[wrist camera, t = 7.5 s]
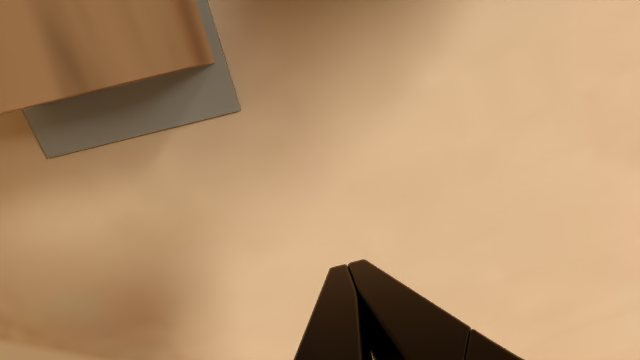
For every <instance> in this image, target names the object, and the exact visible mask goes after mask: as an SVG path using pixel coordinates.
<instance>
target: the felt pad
mask: <svg viewBox="0 0 640 360" xmlns="http://www.w3.org/2000/svg"><path fill="white" fill-rule="evenodd" d="M196 4H197V7H198V10H199V13H200V16H201V19H202V23H203V26H204V29H205V32H206V35H207V38H208V41H209V45H210V48H211V51H212V54H213V57H214V60H215V63H212V64H208V65H204V66H200V67H196V68H192V69H188V70H184V71H180V72H176V73H172V74H167V75H163V76H159V77H155V78H151V79H147V80H143V81H139V82H135V83H131V84H127V85H122V86H118V87H114V88H110V89H106V90H102V91H98V92H94V93H90V94H86V95H82V96H77V97H73V98H69V99H65V100H61V101H57V102H53V103H49V104H45V105H41V106H37V107H32V108H28V109H23V110H22V111H23V113H24V115H25V117H26V119H27V121H28V123H29V125H30V126H31V128H32V130H33V132H34V134H35V136H36V138H37V140H38V142H39V144H40V146H41V148H42V149H43V151H44V153H45V155H46V157H47V159H48V158H52V157H56V156H60V155H64V154H68V153H72V152H76V151H80V150H84V149H88V148H92V147H96V146H100V145H104V144H108V143H112V142H116V141H120V140H124V139H128V138H132V137H136V136H140V135H144V134H148V133H152V132H156V131H160V130H164V129H168V128H172V127H176V126H180V125H184V124H188V123H193V122H197V121H201V120H205V119H209V118H213V117H217V116H221V115H225V114H229V113H233V112H237V111H241V109H240V106H239V102H238V99H237V96H236V93H235V89H234V86H233V83H232V79H231V76H230V73H229V70H228V66H227V63H226V60H225V57H224V53H223V50H222V47H221V44H220V40H219V37H218V34H217V30H216V27H215V24H214V21H213V17H212V14H211V11H210V8H209V4H208V1H207V0H196Z"/></svg>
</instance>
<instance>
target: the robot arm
mask: <svg viewBox="0 0 640 360" xmlns="http://www.w3.org/2000/svg"><path fill="white" fill-rule="evenodd" d="M371 353H372V354H371ZM372 356H373V358H372ZM373 359H374V360H524V359H522V358H520V357H518V356H517V355H515V354H513V353H512V352H510V351H508V350H507V349H505V348H503V347H502V346H500V345H498V344H497V343H495V342H493V341H492V340H490V339H488V338H487V337H485V336H484V335H482V334H481V333H479V332H478V331H476V330H474V329H472V330H471V328H470V327H469V326H468V325H466V324H465V323H463V322H462V321H460V320H459V319H457V318H455V317H454V316H452V315H451V314H449V313H448V312H446V311H445V310H443V309H441V308H440V307H438V306H437V305H435V304H434V303H432V302H430V301H429V300H427V299H426V298H424V297H423V296H421V295H420V294H418V293H416V292H415V291H413V290H412V289H410V288H409V287H407V286H406V285H404V284H402V283H401V282H399V281H398V280H396V279H395V278H393V277H392V276H390V275H388V274H387V273H385V272H384V271H382V270H381V269H379V268H377V267H376V266H374V265H373V264H371V263H370V262H368V261H367V260H364V259H363V260H359V261H355V262H351V263H349V264H348V266H347V265H345V264H344V265H340V266H336V267H332V268H330V270H329V272H328V275H327V277H326V280H325V282H324V285H323V287H322V290H321V292H320V295H319V297H318V300H317V302H316V305H315V307H314V310H313V312H312V315H311V317H310V320H309V322H308V325H307V327H306V330H305V332H304V335H303V338H302V340H301V343H300V345H299V348H298V350H297V353H296V355H295V358H294V360H373Z"/></svg>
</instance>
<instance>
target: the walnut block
mask: <svg viewBox="0 0 640 360" xmlns="http://www.w3.org/2000/svg"><path fill="white" fill-rule="evenodd" d="M212 63H215V60H214V57H213V54H212V51H211V48H210V45H209V41H208V38H207V35H206V32H205V29H204V26H203V23H202V19H201V16H200V13H199V10H198V7H197V4H196V0H0V114H5V113H10V112H14V111H19V110H23V109H28V108H32V107H37V106H41V105H45V104H49V103H53V102H57V101H61V100H65V99H69V98H73V97H77V96H82V95H86V94H90V93H94V92H98V91H102V90H106V89H110V88H114V87H118V86H122V85H127V84H131V83H135V82H139V81H143V80H147V79H151V78H155V77H159V76H163V75H167V74H172V73H176V72H180V71H184V70H188V69H192V68H196V67H200V66H204V65H208V64H212Z"/></svg>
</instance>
